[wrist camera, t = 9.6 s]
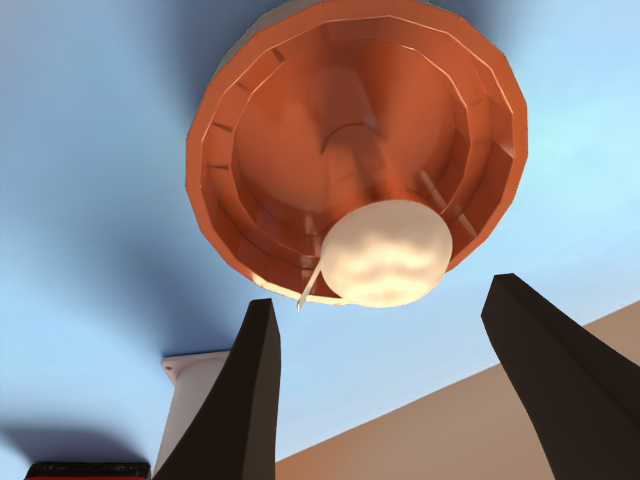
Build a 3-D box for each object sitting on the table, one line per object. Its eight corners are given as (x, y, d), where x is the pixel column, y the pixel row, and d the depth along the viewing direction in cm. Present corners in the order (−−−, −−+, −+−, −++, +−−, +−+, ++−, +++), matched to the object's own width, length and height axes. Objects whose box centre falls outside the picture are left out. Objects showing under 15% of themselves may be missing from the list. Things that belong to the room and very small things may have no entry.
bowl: (455, 239, 23) (484, 290, 20) (239, 261, 23) (230, 316, 20) (516, -31, 14) (588, -24, 11) (163, 0, 14) (123, 18, 11)
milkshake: (290, 110, 17) (294, 250, 9) (402, 108, 17) (496, 241, 10) (294, 193, 20) (299, 351, 12) (390, 190, 20) (454, 342, 12)
